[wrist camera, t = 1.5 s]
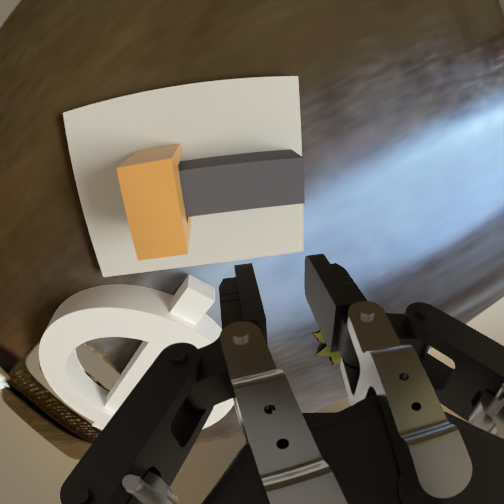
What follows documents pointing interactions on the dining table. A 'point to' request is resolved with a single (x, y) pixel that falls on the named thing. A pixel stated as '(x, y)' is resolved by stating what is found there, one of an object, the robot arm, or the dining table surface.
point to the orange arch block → (155, 202)
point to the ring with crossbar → (130, 326)
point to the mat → (193, 147)
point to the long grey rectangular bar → (241, 182)
